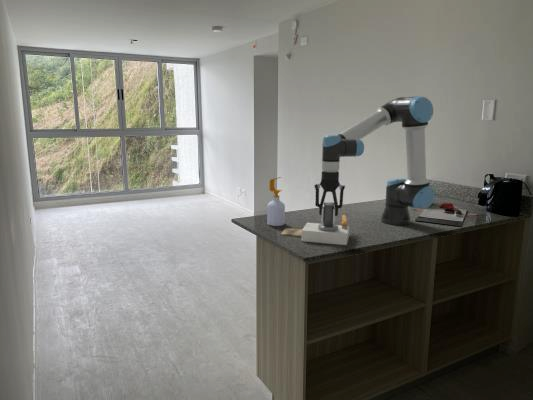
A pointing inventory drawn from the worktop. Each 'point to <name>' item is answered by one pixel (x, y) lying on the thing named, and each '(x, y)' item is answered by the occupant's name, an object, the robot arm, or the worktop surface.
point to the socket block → (325, 234)
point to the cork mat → (292, 232)
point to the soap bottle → (275, 208)
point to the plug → (328, 218)
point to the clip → (344, 220)
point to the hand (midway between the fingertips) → (328, 222)
